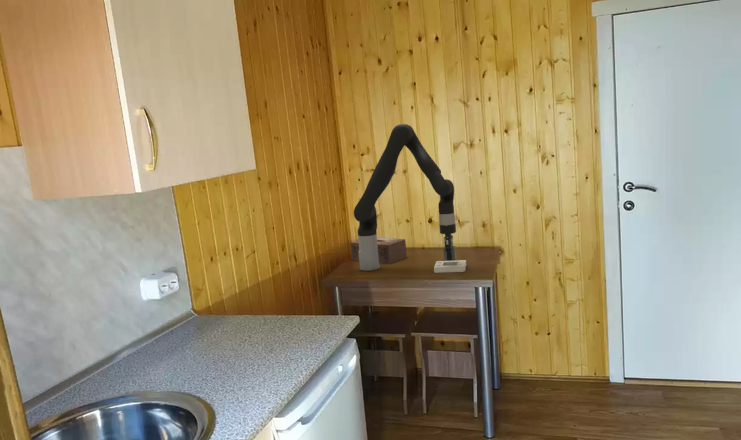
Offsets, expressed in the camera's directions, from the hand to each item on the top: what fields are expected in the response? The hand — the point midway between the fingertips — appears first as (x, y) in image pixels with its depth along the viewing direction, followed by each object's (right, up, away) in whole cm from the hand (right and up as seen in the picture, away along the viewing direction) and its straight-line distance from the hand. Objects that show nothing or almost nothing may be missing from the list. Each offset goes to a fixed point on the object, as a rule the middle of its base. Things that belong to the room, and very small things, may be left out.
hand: (450, 258), depth 272 cm
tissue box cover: (-33, -3, +36) cm, 49 cm away
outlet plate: (0, -5, +1) cm, 5 cm away
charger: (0, 0, 0) cm, 1 cm away
